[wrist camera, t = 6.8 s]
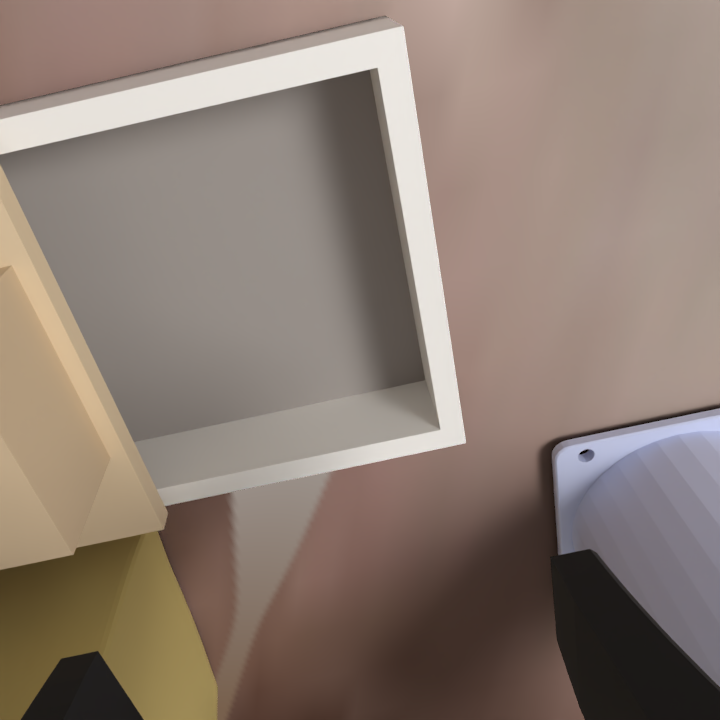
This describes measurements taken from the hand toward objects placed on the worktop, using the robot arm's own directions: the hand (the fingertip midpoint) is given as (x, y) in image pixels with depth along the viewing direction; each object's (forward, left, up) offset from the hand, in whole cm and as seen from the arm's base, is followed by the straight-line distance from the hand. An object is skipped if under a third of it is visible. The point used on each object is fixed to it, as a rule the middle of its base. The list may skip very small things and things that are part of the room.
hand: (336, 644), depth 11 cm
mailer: (+3, -3, -10) cm, 11 cm away
